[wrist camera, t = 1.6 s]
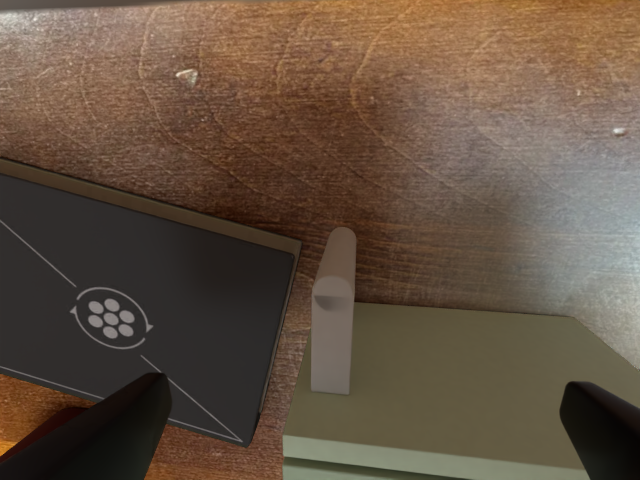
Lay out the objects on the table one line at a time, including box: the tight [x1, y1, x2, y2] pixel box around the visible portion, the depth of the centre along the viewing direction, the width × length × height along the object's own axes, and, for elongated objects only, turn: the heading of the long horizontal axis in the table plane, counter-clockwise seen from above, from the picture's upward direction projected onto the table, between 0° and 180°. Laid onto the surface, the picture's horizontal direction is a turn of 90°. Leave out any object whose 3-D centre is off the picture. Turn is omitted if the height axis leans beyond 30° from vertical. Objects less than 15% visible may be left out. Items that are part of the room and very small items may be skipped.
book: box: [0, 157, 303, 448], centre depth 22 cm, size 22×15×3 cm
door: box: [283, 227, 640, 480], centre depth 15 cm, size 6×16×10 cm, turn 89°
